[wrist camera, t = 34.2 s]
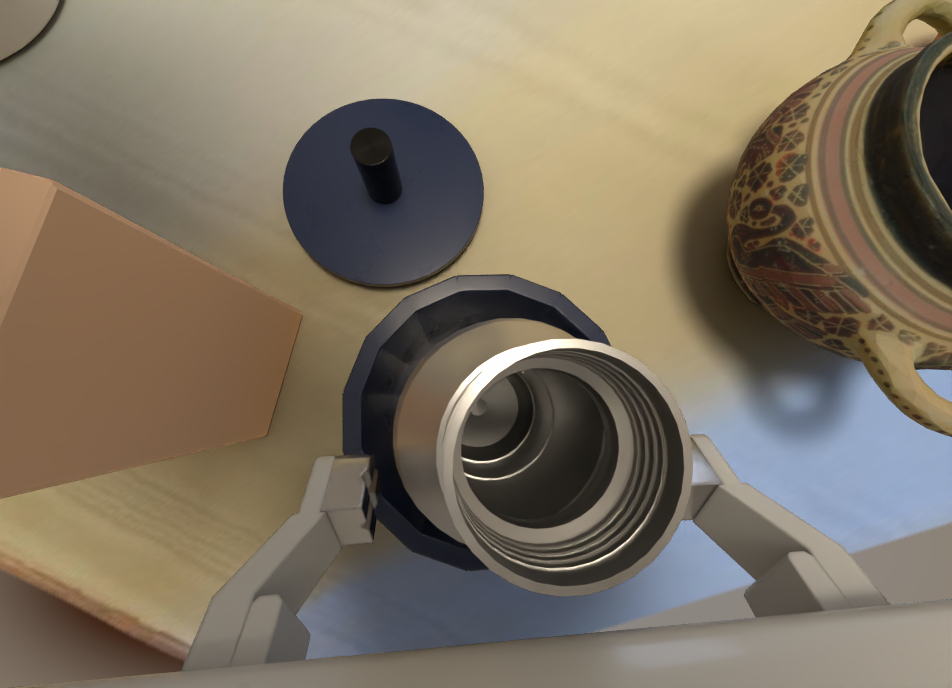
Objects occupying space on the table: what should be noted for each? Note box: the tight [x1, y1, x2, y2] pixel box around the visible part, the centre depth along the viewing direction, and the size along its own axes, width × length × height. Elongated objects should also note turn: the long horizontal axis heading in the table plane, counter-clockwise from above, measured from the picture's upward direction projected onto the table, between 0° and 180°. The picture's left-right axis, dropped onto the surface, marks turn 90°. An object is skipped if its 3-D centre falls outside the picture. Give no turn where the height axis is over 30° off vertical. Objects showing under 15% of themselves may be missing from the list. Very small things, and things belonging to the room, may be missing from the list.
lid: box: [283, 99, 484, 287], centre depth 24 cm, size 14×14×6 cm
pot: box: [343, 274, 611, 571], centre depth 21 cm, size 13×13×10 cm
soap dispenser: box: [0, 167, 302, 499], centre depth 14 cm, size 13×9×22 cm
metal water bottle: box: [393, 318, 693, 597], centre depth 15 cm, size 6×7×20 cm
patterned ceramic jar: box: [726, 0, 952, 437], centre depth 22 cm, size 24×18×15 cm
